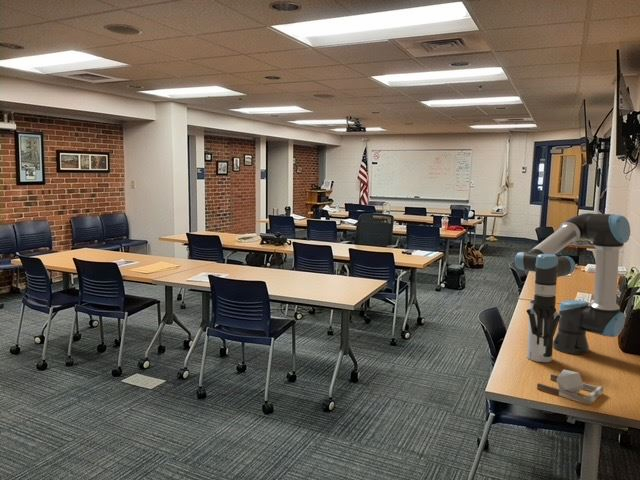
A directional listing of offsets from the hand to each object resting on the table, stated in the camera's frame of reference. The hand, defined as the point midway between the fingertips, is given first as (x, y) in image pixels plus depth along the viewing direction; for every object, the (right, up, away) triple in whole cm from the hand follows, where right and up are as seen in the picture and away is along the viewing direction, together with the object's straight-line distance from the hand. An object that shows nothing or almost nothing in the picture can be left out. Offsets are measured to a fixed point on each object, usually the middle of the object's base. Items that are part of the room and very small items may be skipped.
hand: (541, 353), depth 191 cm
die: (+6, -13, -8) cm, 17 cm away
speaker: (+11, -9, +27) cm, 31 cm away
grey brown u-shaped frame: (+7, -13, -7) cm, 16 cm away
